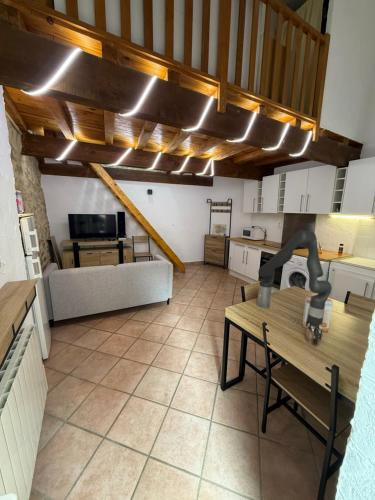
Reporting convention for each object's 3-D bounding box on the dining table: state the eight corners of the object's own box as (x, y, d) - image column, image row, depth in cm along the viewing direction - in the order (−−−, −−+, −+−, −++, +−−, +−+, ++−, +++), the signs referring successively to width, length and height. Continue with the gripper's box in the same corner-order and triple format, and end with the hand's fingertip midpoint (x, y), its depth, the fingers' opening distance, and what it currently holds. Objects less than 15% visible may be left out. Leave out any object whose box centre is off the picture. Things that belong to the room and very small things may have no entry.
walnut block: (308, 344, 116) (310, 333, 115) (304, 339, 121) (306, 328, 120) (317, 345, 115) (319, 334, 114) (313, 340, 120) (315, 329, 119)
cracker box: (325, 328, 134) (330, 298, 130) (328, 332, 128) (333, 302, 124) (301, 323, 139) (306, 294, 135) (303, 327, 133) (307, 298, 129)
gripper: (303, 307, 122) (300, 331, 125) (314, 319, 108) (310, 346, 111) (316, 309, 121) (313, 333, 124) (329, 321, 107) (324, 348, 110)
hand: (311, 339), depth 118 cm, fingers open, 8 cm apart
